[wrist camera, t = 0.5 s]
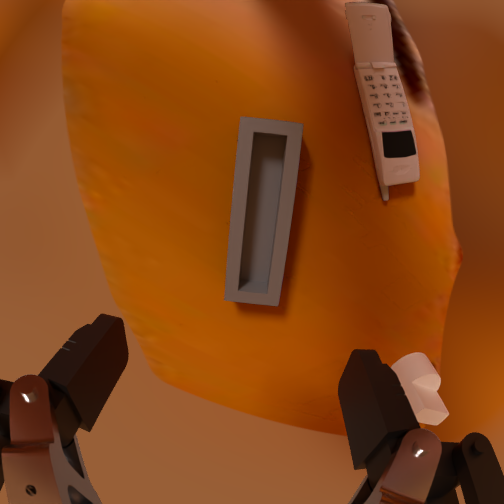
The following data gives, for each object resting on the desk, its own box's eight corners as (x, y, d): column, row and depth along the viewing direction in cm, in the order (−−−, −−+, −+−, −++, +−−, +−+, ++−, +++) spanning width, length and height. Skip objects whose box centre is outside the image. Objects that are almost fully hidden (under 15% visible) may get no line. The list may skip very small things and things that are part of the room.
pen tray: (243, 121, 30) (240, 116, 26) (298, 127, 30) (303, 123, 26) (228, 285, 37) (224, 300, 33) (277, 291, 37) (278, 306, 33)
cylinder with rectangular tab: (376, 381, 42) (395, 431, 31) (409, 346, 39) (438, 393, 28) (404, 391, 43) (424, 436, 32) (435, 359, 40) (462, 402, 29)
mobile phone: (387, 3, 18) (437, 201, 26) (372, 21, 24) (414, 193, 32) (341, 0, 19) (394, 208, 27) (331, 20, 25) (375, 200, 32)
